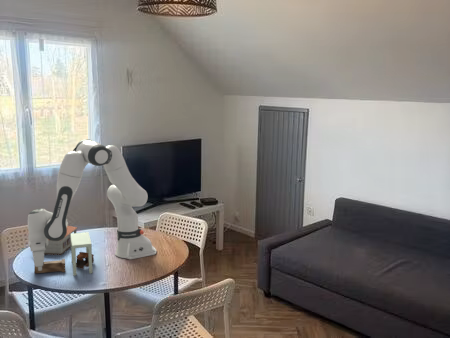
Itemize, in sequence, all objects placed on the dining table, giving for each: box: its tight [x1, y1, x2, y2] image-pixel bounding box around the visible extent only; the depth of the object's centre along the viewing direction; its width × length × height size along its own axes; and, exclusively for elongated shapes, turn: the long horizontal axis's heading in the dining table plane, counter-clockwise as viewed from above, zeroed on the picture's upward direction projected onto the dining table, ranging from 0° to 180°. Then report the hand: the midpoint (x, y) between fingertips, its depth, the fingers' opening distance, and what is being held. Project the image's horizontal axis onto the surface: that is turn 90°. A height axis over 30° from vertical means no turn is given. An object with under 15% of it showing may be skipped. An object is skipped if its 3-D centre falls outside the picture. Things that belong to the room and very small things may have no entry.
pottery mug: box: [76, 251, 95, 270], centre depth 218 cm, size 12×9×8 cm
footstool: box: [70, 231, 94, 277], centre depth 216 cm, size 9×19×16 cm, turn 22°
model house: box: [44, 225, 79, 256], centre depth 243 cm, size 24×16×15 cm, turn 177°
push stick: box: [33, 258, 66, 274], centre depth 211 cm, size 14×6×4 cm, turn 112°
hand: (40, 268), depth 210 cm, fingers closed on push stick, 3 cm apart
